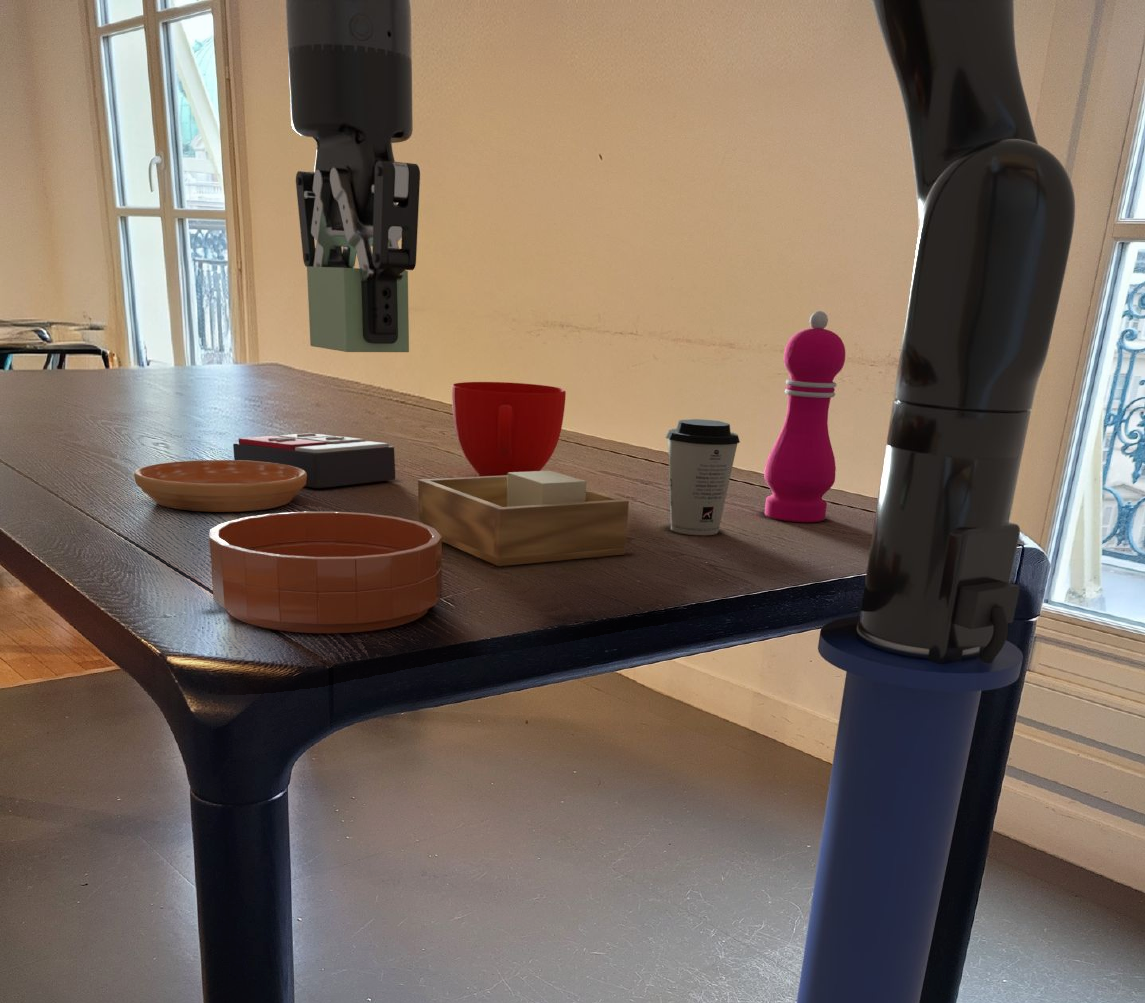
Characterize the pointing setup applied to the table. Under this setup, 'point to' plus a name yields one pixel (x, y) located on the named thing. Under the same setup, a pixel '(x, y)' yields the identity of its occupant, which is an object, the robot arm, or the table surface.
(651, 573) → the table surface
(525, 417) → the ceramic cup
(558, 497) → the block
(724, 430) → the coffee cup
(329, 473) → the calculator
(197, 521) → the table surface
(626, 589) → the table surface
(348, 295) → the packet
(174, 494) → the saucer
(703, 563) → the table surface
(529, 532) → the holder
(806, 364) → the pepper mill
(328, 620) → the bowl
